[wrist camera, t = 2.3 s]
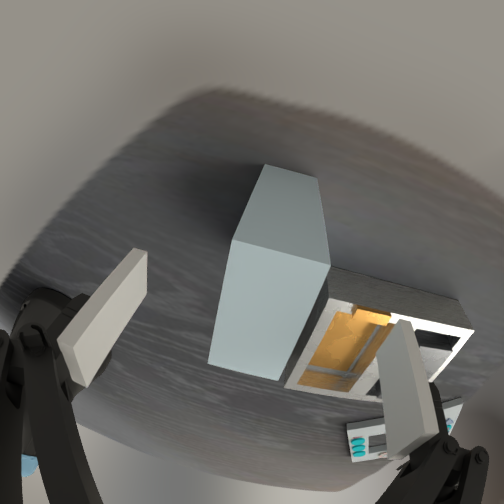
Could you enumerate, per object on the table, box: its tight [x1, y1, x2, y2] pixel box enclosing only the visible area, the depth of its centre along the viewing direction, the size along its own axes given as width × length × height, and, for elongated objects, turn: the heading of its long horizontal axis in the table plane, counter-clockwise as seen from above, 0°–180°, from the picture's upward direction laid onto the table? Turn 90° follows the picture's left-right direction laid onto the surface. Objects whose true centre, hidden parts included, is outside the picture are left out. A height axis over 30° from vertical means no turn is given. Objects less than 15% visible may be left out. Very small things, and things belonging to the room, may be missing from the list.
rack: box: [284, 266, 474, 402], centre depth 26 cm, size 15×12×6 cm
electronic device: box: [347, 397, 463, 462], centre depth 39 cm, size 18×2×15 cm
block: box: [208, 164, 331, 381], centre depth 19 cm, size 4×8×12 cm, turn 168°
